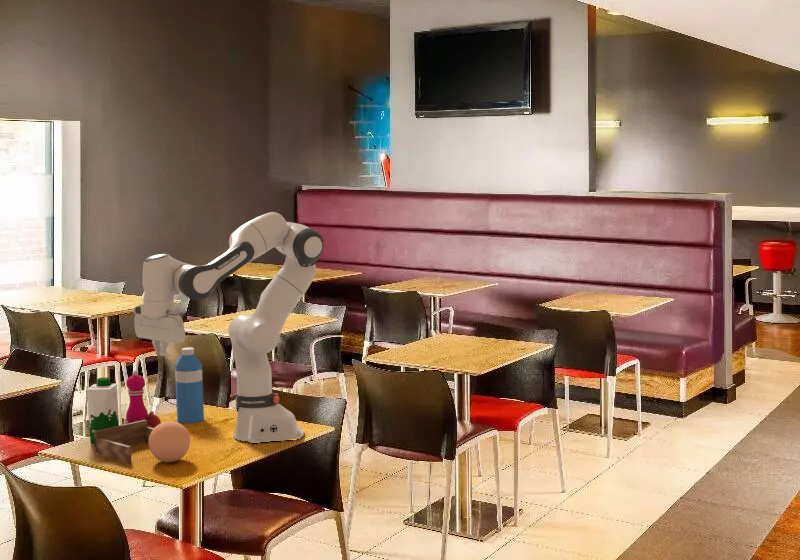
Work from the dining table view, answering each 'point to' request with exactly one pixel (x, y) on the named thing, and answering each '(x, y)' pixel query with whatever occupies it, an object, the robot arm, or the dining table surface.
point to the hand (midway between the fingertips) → (160, 355)
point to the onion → (152, 420)
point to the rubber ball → (169, 441)
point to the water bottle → (189, 388)
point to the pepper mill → (136, 398)
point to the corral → (121, 440)
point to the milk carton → (102, 406)
